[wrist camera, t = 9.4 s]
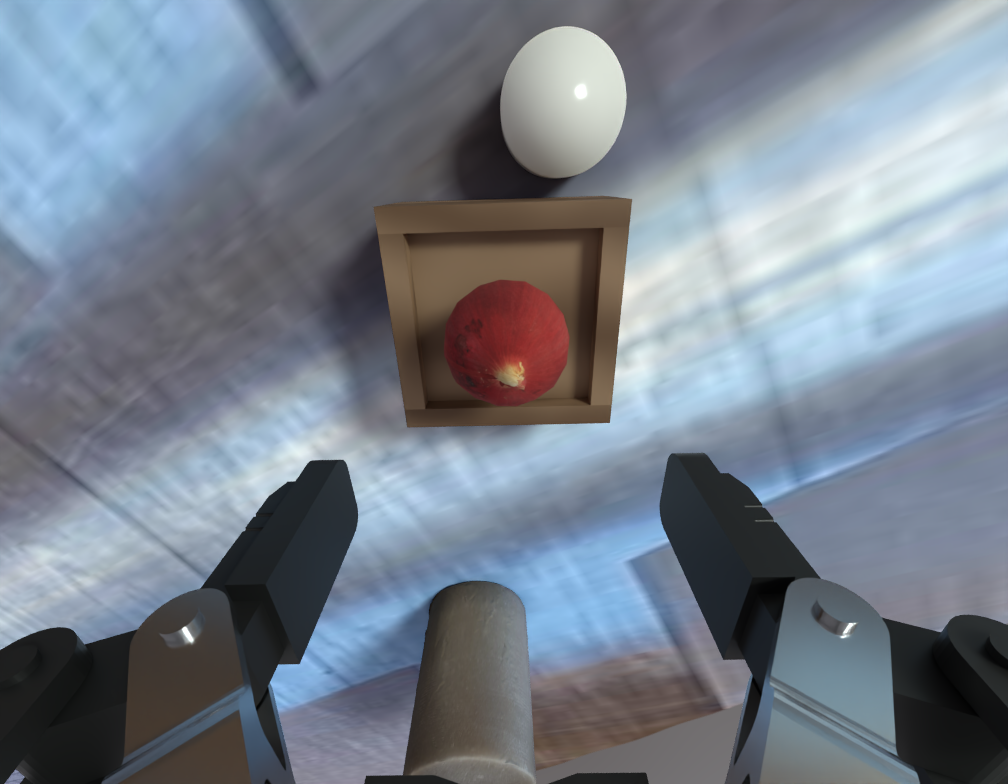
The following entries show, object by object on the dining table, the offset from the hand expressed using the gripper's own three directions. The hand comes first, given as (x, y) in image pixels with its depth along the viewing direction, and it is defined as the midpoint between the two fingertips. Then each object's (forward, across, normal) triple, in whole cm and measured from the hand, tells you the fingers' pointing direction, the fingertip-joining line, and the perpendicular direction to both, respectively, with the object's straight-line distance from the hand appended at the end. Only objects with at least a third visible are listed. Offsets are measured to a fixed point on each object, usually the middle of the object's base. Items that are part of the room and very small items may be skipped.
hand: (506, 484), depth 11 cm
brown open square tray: (+19, 0, 0) cm, 19 cm away
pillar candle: (+19, +3, +32) cm, 37 cm away
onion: (+14, 0, 0) cm, 14 cm away
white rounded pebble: (+19, -3, -10) cm, 22 cm away
